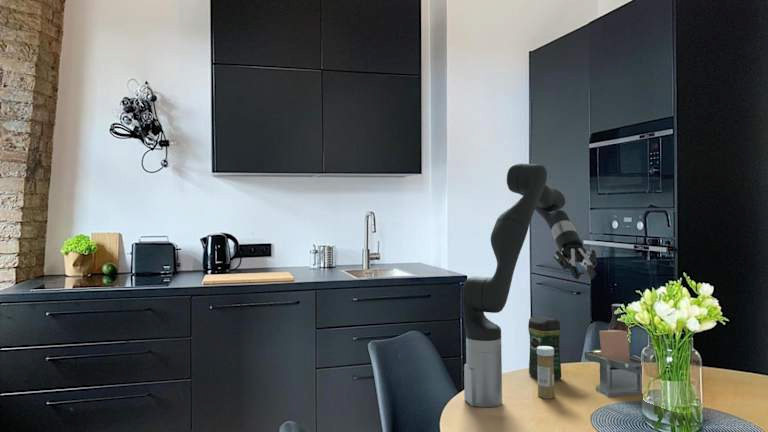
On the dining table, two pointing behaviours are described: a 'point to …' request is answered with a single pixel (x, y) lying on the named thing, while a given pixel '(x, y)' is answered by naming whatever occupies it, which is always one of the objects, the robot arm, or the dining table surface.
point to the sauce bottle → (617, 324)
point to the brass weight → (597, 352)
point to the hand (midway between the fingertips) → (585, 277)
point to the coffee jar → (544, 342)
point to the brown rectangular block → (614, 345)
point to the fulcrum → (618, 380)
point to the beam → (618, 363)
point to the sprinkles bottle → (545, 372)
